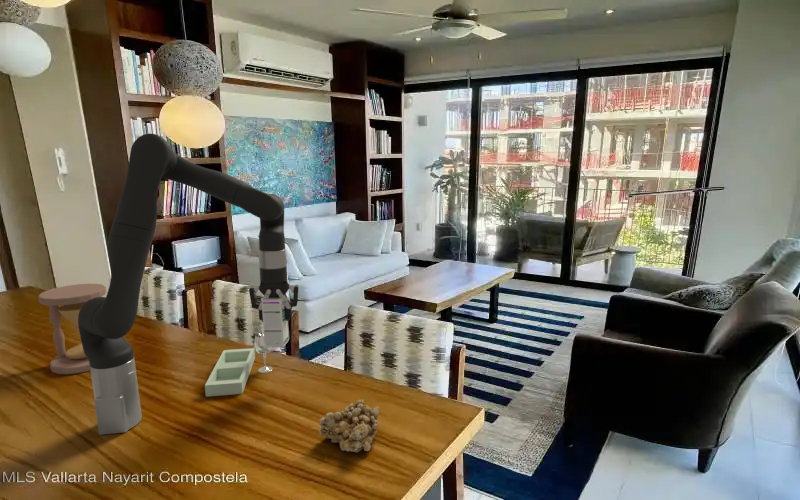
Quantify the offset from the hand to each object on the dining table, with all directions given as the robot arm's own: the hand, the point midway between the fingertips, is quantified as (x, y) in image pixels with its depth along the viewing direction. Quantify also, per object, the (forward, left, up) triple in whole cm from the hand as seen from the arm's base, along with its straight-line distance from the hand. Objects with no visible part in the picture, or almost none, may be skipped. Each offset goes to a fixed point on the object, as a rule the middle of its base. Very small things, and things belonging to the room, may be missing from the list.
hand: (275, 320), depth 126 cm
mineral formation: (-30, -21, -21) cm, 42 cm away
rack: (+8, +15, -20) cm, 27 cm away
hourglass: (+26, +66, -21) cm, 74 cm away
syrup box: (0, 0, -7) cm, 7 cm away
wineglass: (+11, +5, -21) cm, 24 cm away
